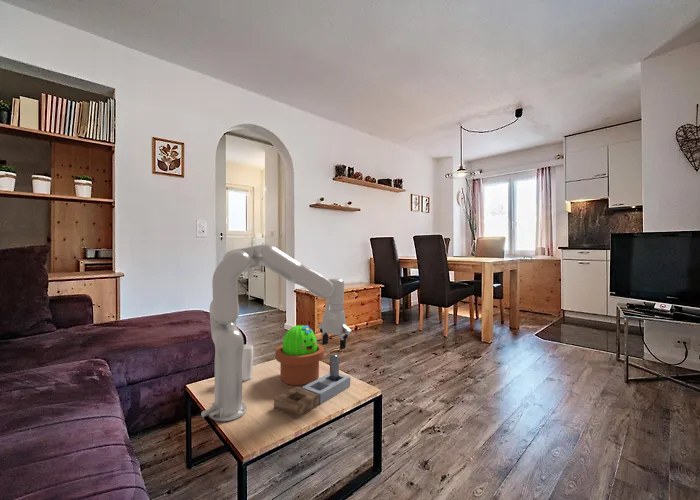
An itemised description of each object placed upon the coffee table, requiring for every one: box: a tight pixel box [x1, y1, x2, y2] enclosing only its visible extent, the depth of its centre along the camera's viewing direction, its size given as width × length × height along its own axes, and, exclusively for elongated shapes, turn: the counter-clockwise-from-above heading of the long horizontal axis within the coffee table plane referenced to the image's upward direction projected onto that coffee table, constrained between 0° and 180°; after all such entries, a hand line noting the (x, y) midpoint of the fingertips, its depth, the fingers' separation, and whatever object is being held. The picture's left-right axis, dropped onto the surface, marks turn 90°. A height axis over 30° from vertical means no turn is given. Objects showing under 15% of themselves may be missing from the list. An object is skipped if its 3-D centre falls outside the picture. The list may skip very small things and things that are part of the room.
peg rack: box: [301, 372, 351, 405], centre depth 136 cm, size 20×10×4 cm, turn 144°
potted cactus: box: [274, 324, 325, 386], centre depth 149 cm, size 22×22×25 cm
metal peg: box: [329, 353, 340, 382], centre depth 139 cm, size 4×4×14 cm
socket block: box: [273, 386, 320, 420], centre depth 122 cm, size 12×12×4 cm
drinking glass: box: [242, 343, 254, 382], centre depth 147 cm, size 7×7×15 cm
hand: (333, 346), depth 139 cm, fingers open, 9 cm apart
